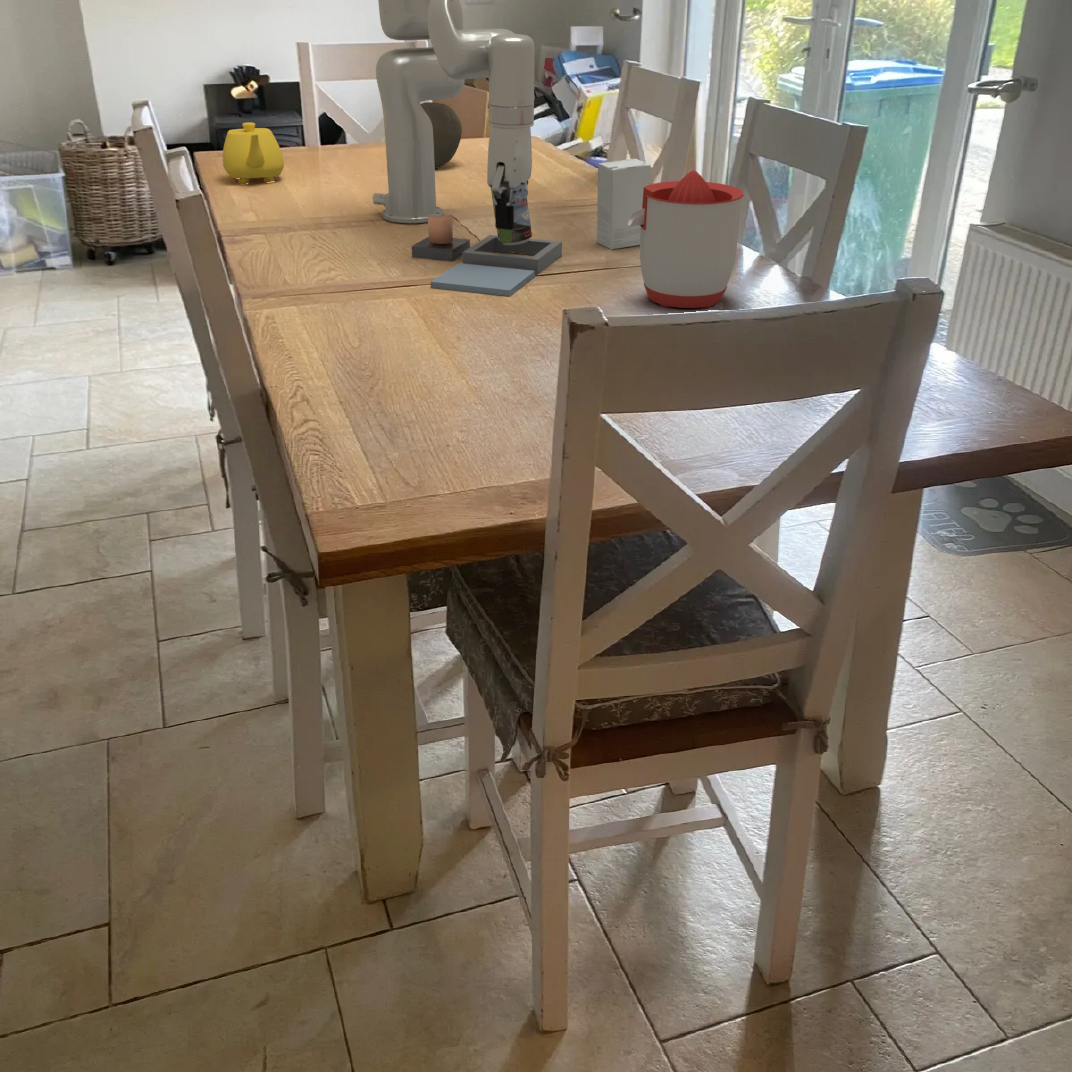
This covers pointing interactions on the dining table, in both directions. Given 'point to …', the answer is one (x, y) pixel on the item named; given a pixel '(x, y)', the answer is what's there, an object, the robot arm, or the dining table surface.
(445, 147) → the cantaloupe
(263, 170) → the teapot
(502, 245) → the frame
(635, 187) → the skincare box
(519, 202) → the beverage can
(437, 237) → the button
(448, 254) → the button base
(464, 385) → the dining table surface
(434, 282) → the mat
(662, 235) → the citrus juicer
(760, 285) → the dining table surface
